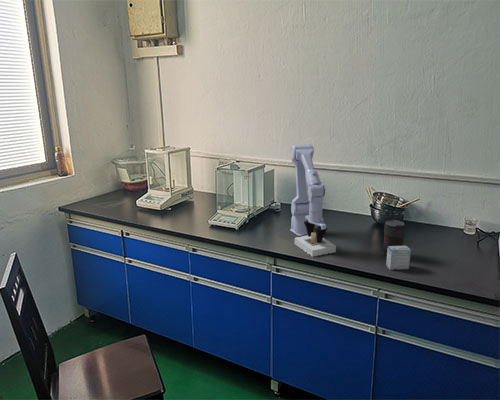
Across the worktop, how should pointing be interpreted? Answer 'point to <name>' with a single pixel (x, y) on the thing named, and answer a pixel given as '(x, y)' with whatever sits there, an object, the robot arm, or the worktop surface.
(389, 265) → the medicine box
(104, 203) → the worktop surface
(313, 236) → the peg
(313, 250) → the socket board
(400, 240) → the camera lens
